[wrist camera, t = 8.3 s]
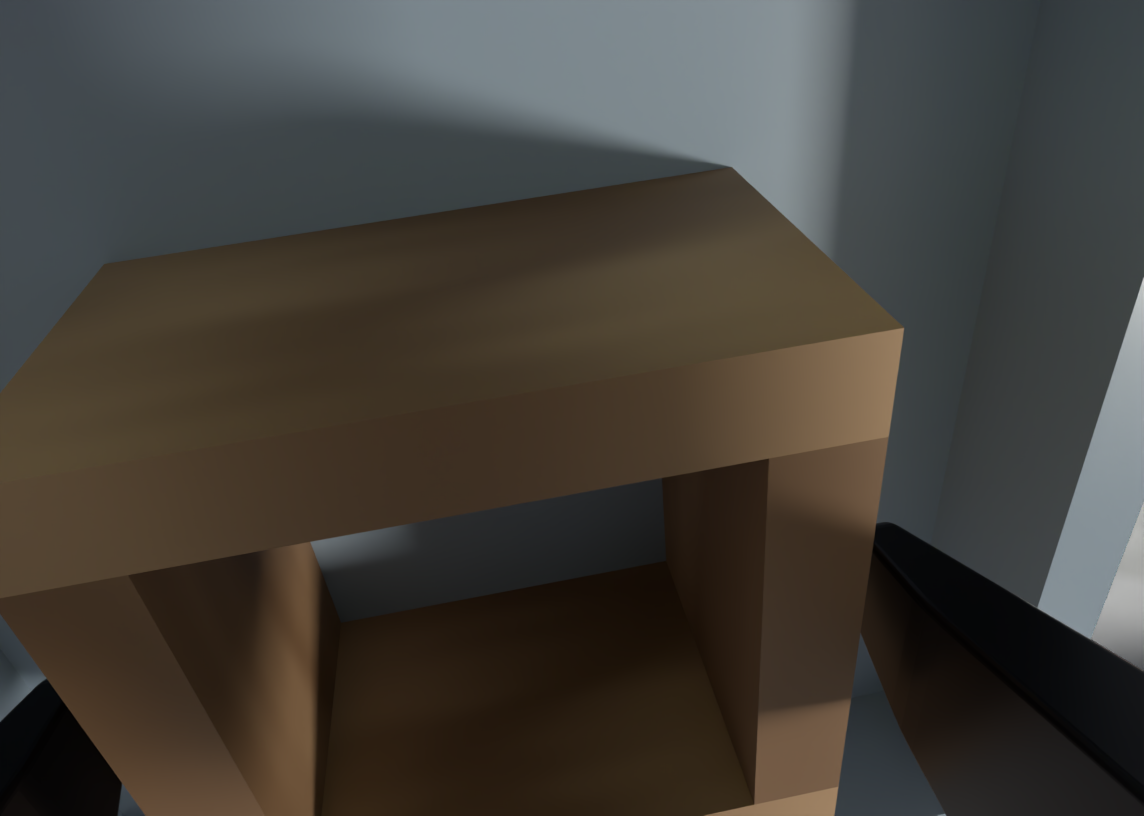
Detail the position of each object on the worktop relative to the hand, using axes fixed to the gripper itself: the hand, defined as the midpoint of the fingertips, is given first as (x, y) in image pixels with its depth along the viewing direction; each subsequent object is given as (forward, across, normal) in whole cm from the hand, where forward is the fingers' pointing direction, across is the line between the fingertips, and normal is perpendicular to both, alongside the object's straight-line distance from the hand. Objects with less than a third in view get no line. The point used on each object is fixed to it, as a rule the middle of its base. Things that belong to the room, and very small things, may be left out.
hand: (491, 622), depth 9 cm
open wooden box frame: (+3, 0, 0) cm, 3 cm away
